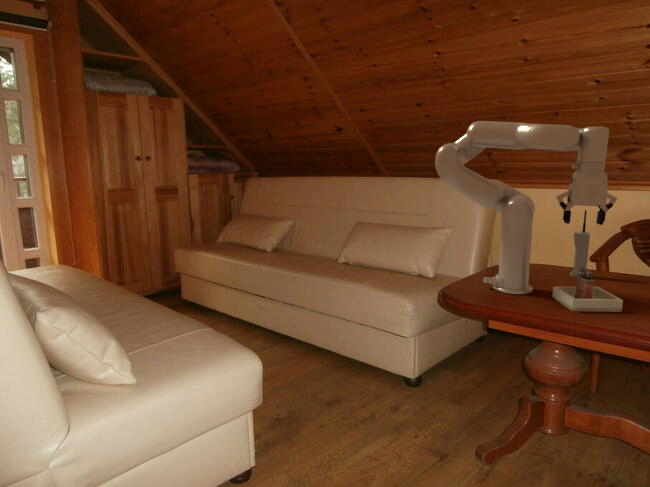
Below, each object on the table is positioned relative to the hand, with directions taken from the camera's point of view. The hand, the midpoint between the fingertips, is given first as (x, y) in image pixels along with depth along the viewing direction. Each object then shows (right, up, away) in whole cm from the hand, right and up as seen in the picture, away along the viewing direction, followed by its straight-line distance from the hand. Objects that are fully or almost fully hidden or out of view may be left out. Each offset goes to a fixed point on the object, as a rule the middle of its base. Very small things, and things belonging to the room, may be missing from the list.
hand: (583, 223), depth 145 cm
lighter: (-2, -24, -3) cm, 24 cm away
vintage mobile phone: (+14, -19, +29) cm, 38 cm away
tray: (-1, -25, -3) cm, 25 cm away
